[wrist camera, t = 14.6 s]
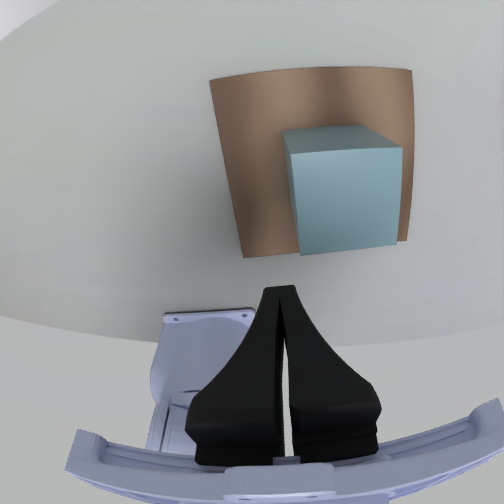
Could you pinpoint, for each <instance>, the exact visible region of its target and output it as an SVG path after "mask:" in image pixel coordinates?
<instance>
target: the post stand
mask: <svg viewBox="0 0 504 504" xmlns="http://www.w3.org/2000/svg"><path fill="white" fill-rule="evenodd" d="M209 82H210V87H211V93H212V98H213V104H214V109H215V114H216V120H217V125H218V130H219V135H220V141H221V146H222V151H223V156H224V161H225V167H226V172H227V177H228V182H229V187H230V192H231V197H232V202H233V208H234V213H235V218H236V223H237V228H238V233H239V238H240V243H241V248H242V253H243V258H250V257H259V256H269V255H278V254H288V253H297V252H300V250H299V244H298V239H297V233H296V228H295V223H294V218H293V213H292V208H291V200H290V191H289V183H288V174H287V166H286V158H285V150H284V142H283V135H282V131H283V130H292V129H302V128H314V127H327V126H345V125H363V126H365V127H367V128H369V129H371V130H373V131H375V132H376V133H378V134H380V135H382V136H384V137H385V138H387V139H389V140H391V141H392V142H394V143H396V144H397V145H399V146H401V147H402V183H401V200H400V213H399V224H398V234H397V242H398V241H407V234H408V226H409V218H410V208H411V198H412V185H413V169H414V96H413V80H412V70H403V69H390V68H372V67H319V68H300V69H287V70H277V71H268V72H259V73H252V74H245V75H238V76H232V77H226V78H221V79H215V80H210V81H209Z"/></svg>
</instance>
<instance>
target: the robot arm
mask: <svg viewBox="0 0 504 504" xmlns="http://www.w3.org/2000/svg"><path fill="white" fill-rule="evenodd" d="M244 314H246V315H244ZM163 321H164V323H165V325H164V328H163V331H162V334H161V337H160V340H159V343H158V347H157V350H156V353H155V356H154V359H153V363H152V366H151V371H150V388H151V393H152V396H153V399H154V401H155V403H156V406H155V409H154V413H153V416H152V420H151V425H150V429H149V433H148V438H147V444H146V449H141V448H136V447H131V446H126V445H121V444H116V443H112V442H108V441H107V440H106V439H105V438H103V437H102V436H100V435H98V434H95V433H91V432H88V431H84V430H81V429H78V430H77V432H76V435H75V438H74V441H73V444H72V447H71V450H70V453H69V457H68V460H67V464H66V467H65V471H66V472H67V473H69V474H70V475H73V476H74V477H76V478H78V479H80V480H82V481H84V482H86V483H88V484H90V485H92V486H95V487H97V488H100V489H103V490H106V491H109V492H112V493H116V494H119V495H122V496H125V497H129V498H132V499H136V500H140V501H144V502H147V503H151V504H389V500H392V499H395V498H398V497H402V496H405V495H408V494H411V493H414V492H417V491H420V490H423V489H426V488H428V487H431V486H433V485H436V484H438V483H441V482H444V481H446V480H448V479H451V478H453V477H455V476H457V475H460V474H462V473H464V472H466V471H468V470H471V469H472V468H475V467H477V466H479V465H481V464H483V463H485V462H487V461H488V460H490V459H491V458H493V457H494V456H496V455H497V454H498V453H500V452H501V451H502V450H504V411H503V409H502V406H501V403H500V401H499V399H498V398H495V399H493V400H491V401H489V402H487V403H484V404H482V405H480V406H478V407H477V408H475V409H474V410H473V411H472V412H471V414H470V415H469V416H467V417H464V418H462V419H459V420H457V421H454V422H451V423H449V424H446V425H443V426H440V427H438V428H434V429H431V430H428V431H425V432H422V433H418V434H415V435H411V436H408V437H404V438H400V439H396V440H393V441H388V442H384V443H380V444H378V442H377V436H376V433H377V426H376V421H377V419H378V417H379V415H380V413H381V410H382V408H381V404H380V401H379V398H378V396H377V394H376V392H375V390H374V388H373V386H372V385H371V383H369V382H368V381H366V380H365V379H364V378H363V377H361V376H360V375H359V374H358V373H356V372H355V371H354V370H353V369H352V368H351V367H350V366H348V365H347V364H346V363H345V362H344V361H343V360H342V359H341V358H340V357H339V356H338V355H337V354H336V353H335V352H334V350H333V349H332V348H331V347H330V346H329V345H328V343H327V342H326V341H325V340H324V338H323V337H322V336H321V334H320V333H319V332H318V330H317V329H316V327H315V326H314V324H313V323H312V321H311V320H310V318H309V316H308V314H307V313H306V311H305V309H304V307H303V305H302V303H301V301H300V299H299V297H298V294H297V291H296V288H295V286H294V285H286V286H276V287H266V288H265V289H264V290H263V295H262V298H261V302H260V304H259V307H258V310H257V312H256V314H255V311H254V310H252V309H244V310H230V311H216V312H199V313H180V314H165V315H164V316H163ZM284 339H285V345H286V350H287V356H288V375H289V408H290V416H291V425H292V444H293V451H294V456H288V457H285V444H284V421H283V420H284V419H283V396H282V372H283V353H284Z"/></svg>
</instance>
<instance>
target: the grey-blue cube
mask: <svg viewBox="0 0 504 504" xmlns="http://www.w3.org/2000/svg"><path fill="white" fill-rule="evenodd" d="M282 135H283V142H284V150H285V158H286V166H287V174H288V183H289V191H290V200H291V208H292V213H293V218H294V223H295V228H296V233H297V239H298V244H299V250H300V255H301V256H302V255H310V254H319V253H328V252H337V251H345V250H354V249H363V248H371V247H380V246H388V245H396V243H397V234H398V224H399V213H400V200H401V183H402V147H401V146H399V145H397V144H396V143H394V142H392V141H391V140H389V139H387V138H385V137H384V136H382V135H380V134H378V133H376V132H375V131H373V130H371V129H369V128H367V127H365V126H363V125H345V126H327V127H314V128H302V129H292V130H283V131H282Z"/></svg>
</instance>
